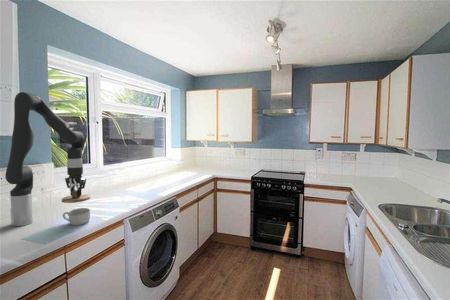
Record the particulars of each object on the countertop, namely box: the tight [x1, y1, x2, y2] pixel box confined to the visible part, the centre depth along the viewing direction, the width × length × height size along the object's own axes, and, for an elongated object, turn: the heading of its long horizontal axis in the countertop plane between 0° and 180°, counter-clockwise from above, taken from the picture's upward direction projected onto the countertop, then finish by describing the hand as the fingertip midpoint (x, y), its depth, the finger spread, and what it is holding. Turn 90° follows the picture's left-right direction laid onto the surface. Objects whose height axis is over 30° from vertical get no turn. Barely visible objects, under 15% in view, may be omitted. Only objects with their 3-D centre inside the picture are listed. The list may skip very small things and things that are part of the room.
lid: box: [61, 189, 91, 204], centre depth 136 cm, size 14×14×5 cm
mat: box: [22, 226, 76, 245], centre depth 120 cm, size 16×16×1 cm
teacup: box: [62, 207, 91, 226], centre depth 137 cm, size 14×11×8 cm
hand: (76, 195), depth 136 cm, fingers closed on lid, 4 cm apart
